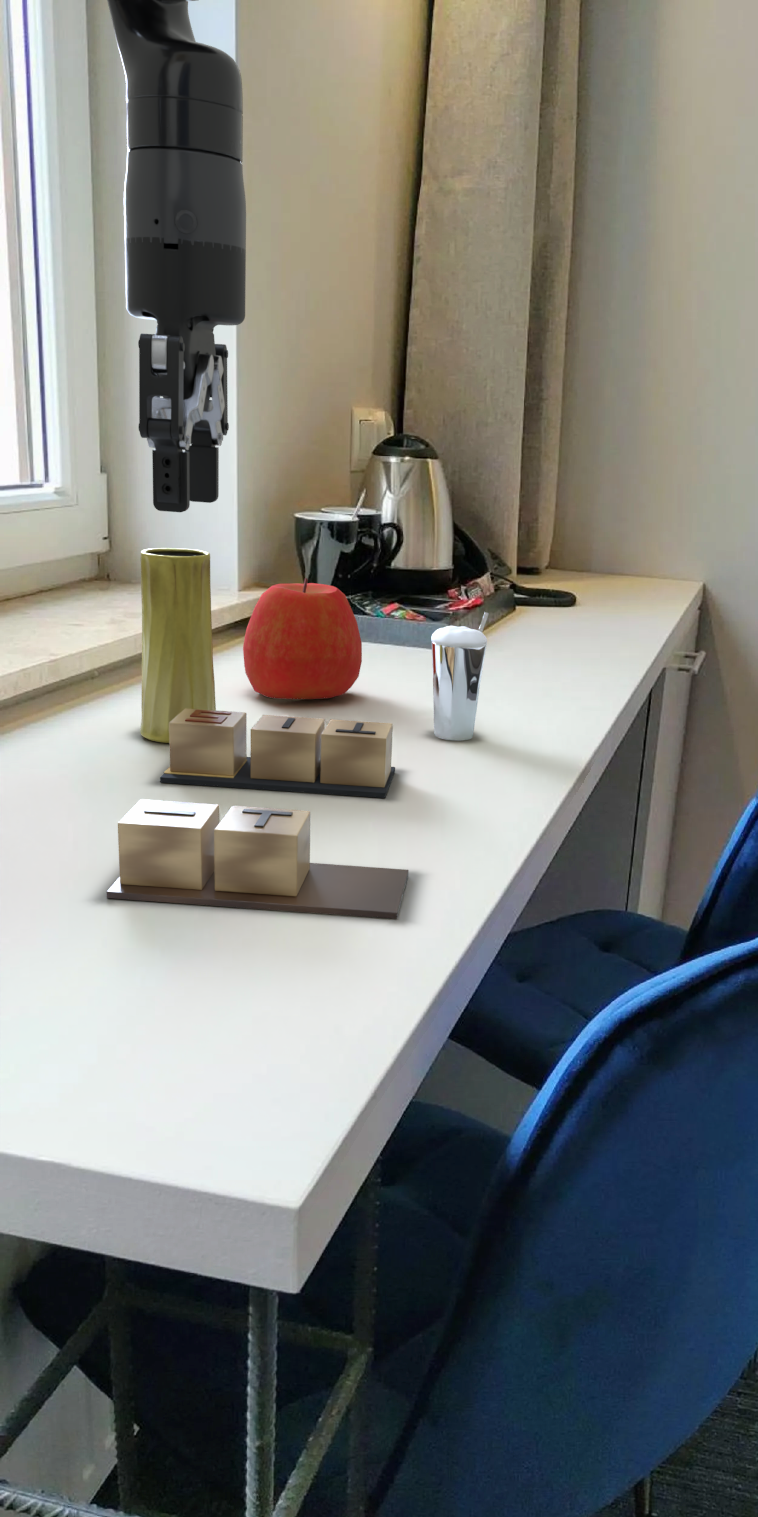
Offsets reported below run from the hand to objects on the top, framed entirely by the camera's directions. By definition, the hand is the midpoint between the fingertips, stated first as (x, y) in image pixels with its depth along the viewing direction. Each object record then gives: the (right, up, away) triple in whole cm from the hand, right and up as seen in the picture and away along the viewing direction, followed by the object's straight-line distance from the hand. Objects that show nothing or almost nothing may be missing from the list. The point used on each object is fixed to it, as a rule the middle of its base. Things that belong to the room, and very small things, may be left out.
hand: (187, 506), depth 90 cm
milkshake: (+18, -13, +22) cm, 31 cm away
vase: (-4, -13, +17) cm, 22 cm away
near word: (+7, -26, -14) cm, 30 cm away
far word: (+5, -18, +7) cm, 20 cm away
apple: (+4, -8, +33) cm, 34 cm away
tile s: (0, -17, +7) cm, 18 cm away
